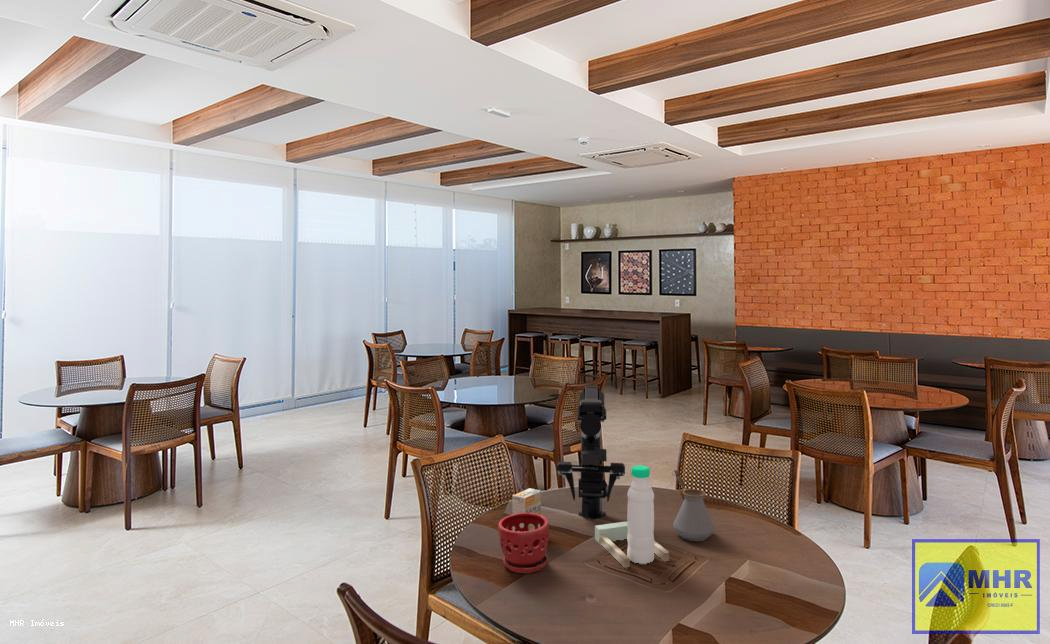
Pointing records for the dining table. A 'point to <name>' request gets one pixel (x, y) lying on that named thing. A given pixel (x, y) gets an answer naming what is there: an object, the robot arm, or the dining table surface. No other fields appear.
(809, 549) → the dining table surface
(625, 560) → the rails
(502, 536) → the plant pot
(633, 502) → the water bottle
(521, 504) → the supplement box
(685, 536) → the coffee pot
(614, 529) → the block
